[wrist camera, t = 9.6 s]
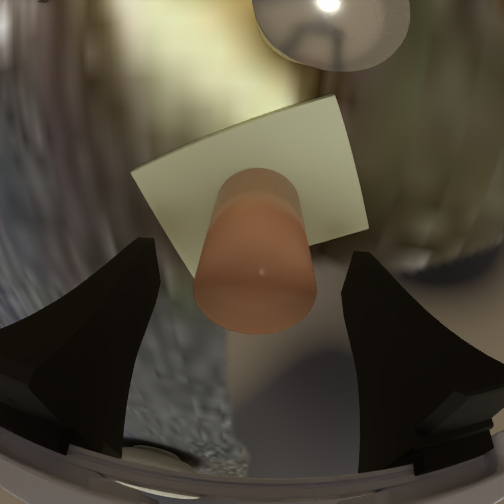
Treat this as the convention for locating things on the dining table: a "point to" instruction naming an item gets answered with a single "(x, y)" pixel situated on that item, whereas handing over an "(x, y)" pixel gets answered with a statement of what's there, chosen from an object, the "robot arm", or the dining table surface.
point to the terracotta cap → (256, 256)
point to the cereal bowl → (156, 464)
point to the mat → (259, 156)
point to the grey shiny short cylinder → (333, 31)
